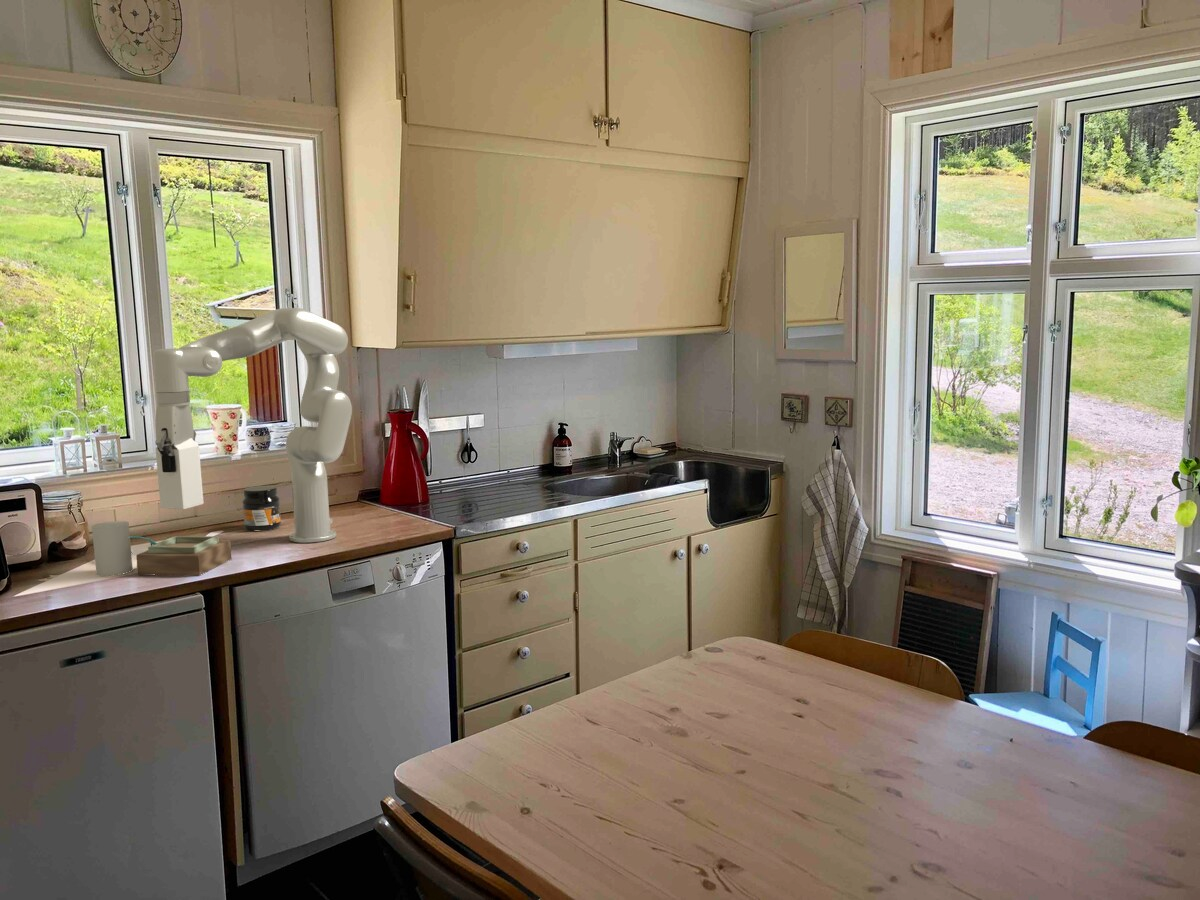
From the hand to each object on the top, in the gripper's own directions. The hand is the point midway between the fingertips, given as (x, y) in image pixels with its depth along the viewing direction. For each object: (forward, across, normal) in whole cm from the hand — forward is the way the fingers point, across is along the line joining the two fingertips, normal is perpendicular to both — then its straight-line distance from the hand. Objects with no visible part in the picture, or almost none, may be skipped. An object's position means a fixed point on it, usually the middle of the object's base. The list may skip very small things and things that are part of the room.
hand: (179, 468), depth 243 cm
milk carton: (+10, 0, 0) cm, 10 cm away
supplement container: (+25, -45, -1) cm, 52 cm away
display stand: (+25, 0, 0) cm, 25 cm away
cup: (+25, +5, -16) cm, 30 cm away
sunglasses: (+26, -8, -19) cm, 33 cm away
